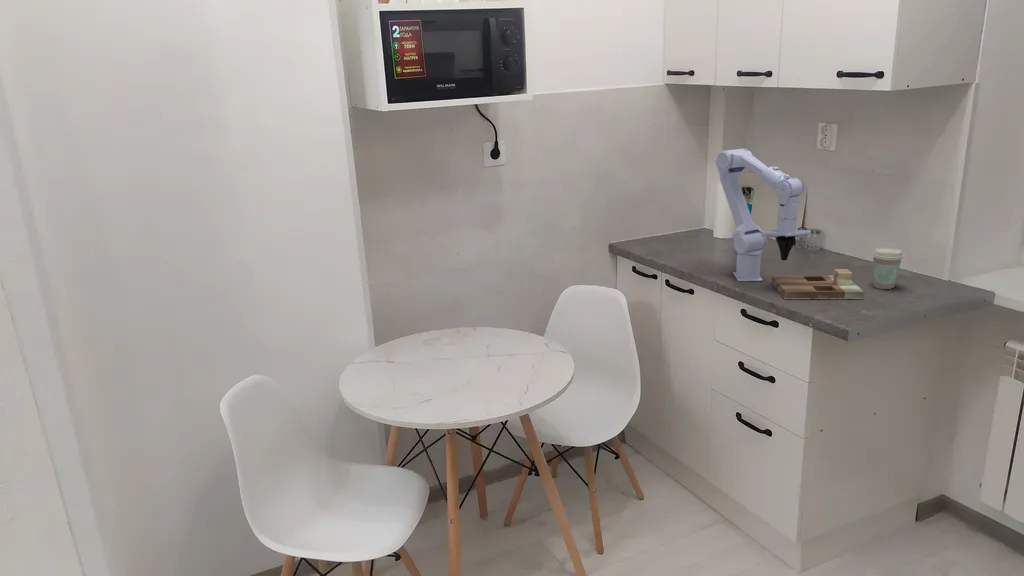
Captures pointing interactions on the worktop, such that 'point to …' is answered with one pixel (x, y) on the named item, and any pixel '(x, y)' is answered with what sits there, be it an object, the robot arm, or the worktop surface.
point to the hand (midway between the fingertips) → (783, 259)
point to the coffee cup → (886, 267)
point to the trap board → (815, 287)
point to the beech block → (842, 277)
